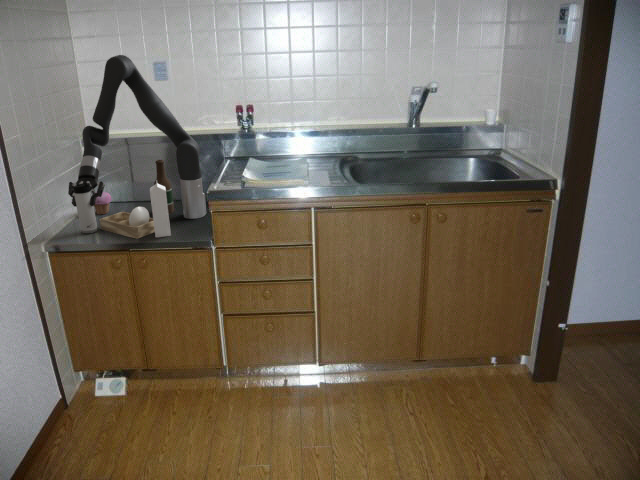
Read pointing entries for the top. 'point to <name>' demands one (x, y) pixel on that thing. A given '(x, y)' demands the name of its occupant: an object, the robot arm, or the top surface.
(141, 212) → the saucer
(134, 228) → the wooden compartment box
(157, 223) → the milk
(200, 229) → the top surface
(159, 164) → the beer bottle
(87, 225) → the travel mug
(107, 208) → the cupcake
